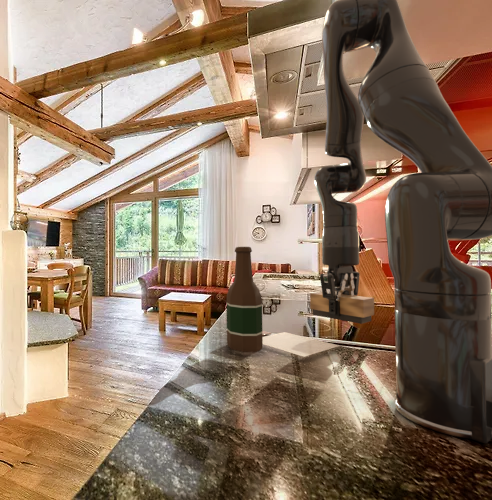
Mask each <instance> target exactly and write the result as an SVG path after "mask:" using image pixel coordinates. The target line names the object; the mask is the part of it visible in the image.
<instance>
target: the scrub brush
mask: <svg viewBox="0 0 492 500" xmlns="http://www.w3.org/2000/svg"><path fill="white" fill-rule="evenodd" d="M309 298H310V299H309V304H310V305H309V309H310V310H312V316H316V317H322V318H328V319H334V320H338V321H342V322H343V321H344V322H349V323H355V324H360V325H362V324H366V323H369V322H372V316H374V315H375V297H371V296H361V295H357V296H355V295H354V296H353V295H344V294H341V297H340V316H339V317H334V316H330V315H329V300H327V298H323V295H322V291H319V292H311V293H309Z"/></svg>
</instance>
